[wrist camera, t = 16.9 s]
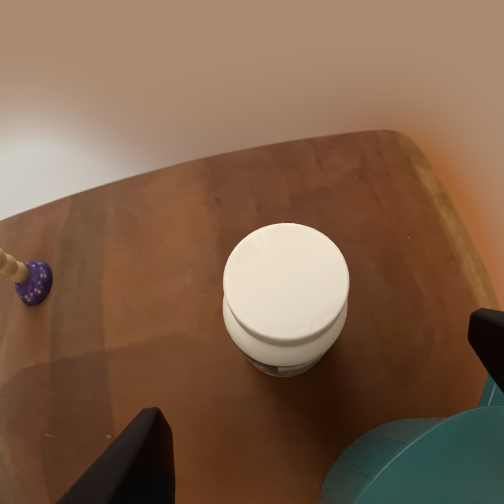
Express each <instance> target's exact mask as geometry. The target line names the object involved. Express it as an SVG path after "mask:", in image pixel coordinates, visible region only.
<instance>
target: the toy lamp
mask: <svg viewBox="0 0 504 504" xmlns="http://www.w3.org/2000/svg"><path fill="white" fill-rule="evenodd" d="M0 273H1V274H3V275H4V276H9V277H10V278H11V279H12V280H13V281H14V282H15V286H16V291H17V294H18V296H19V297H20V299H21V300H22V301H23V302H24V303H26V304H27V305H35V304H38V303H40V302H41V301H42V300H43V299H44V298H45V296H46V295H47V293H48V291H49V289H50V285H51V280H52V274H51V270H50V268H49V266H48V265H47V264H46V263H44V262H42V261H38V260H33V261H29V262H27V263H25V264H23V263H21V262H18V261H16V260H15V258H14V257H12V256H11V255H9V254H5V252H4V251H3V250H2V249H1V248H0Z"/></svg>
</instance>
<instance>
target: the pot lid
mask: <svg viewBox="0 0 504 504" xmlns="http://www.w3.org/2000/svg"><path fill="white" fill-rule="evenodd" d="M350 504H504V406H489V407H479V408H474V409H470V410H466V411H463V412H460V413H457V414H455V415H452V416H450V417H448V418H446V419H444V420H442V421H440V422H437V423H435V424H434V425H432V426H431V427H429V428H427V429H426V430H424V431H422V432H421V433H419V434H418V435H417V436H415V437H414V438H413V439H411V440H410V441H408V442H407V443H406V444H404V445H403V446H402V447H401V448H400V449H399V450H397V451H396V452H395V453H394V454H393V455H392V456H390V457H389V458H388V459H387V460H386V461H385V462H384V463H383V464H382V465H381V466H380V467H379V468H378V469H377V470H376V471H375V472H374V473H373V475H372V476H371V477H370V478H369V479H368V480H367V482H366V483H365V484H364V485H363V486H362V487H361V489H360V490H359V491H358V493H357V494H356V496H355V497H354V498H353V500H352V501H351V502H350Z"/></svg>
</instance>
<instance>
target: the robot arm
mask: <svg viewBox="0 0 504 504" xmlns="http://www.w3.org/2000/svg"><path fill="white" fill-rule="evenodd" d="M468 341H469V343H470V345H471V346H472V348H473V349H474V351H475V352H476V354H477V356H478V357H479V359H480V360H481V362H482V363H483V365H484V367H485V368H486V370H487V371H488V373H489V374H490V376H491V378H492V379H493V380H494V382H495V383H496V384H497V386H498V387H499V388H500V390H501V391H502V392H503V394H504V312H502V311H497V310H491V309H486V308H480V309H478V310H476V311H474V312H473V313H472V314H471V316H470V321H469V329H468ZM55 504H175V468H174V454H173V437H172V430H171V428H170V426H169V424H168V422H167V421H166V419H165V417H164V415H163V414H162V412H161V410H160V409H159V408H157V407H152V408H145V409H143V410H142V411H141V412H140V413H139V414H138V415H137V416H136V417H135V418H134V419H133V420H132V422H131V423H130V424H129V425H128V426H127V427H126V428H125V429H124V430H123V431H122V433H121V434H120V435H119V436H118V437H117V438H116V439H115V440H114V441H113V442H112V443H111V445H110V446H109V447H108V448H107V449H106V450H105V451H104V452H103V453H102V454H101V455H100V457H99V458H98V459H97V460H96V461H95V462H94V463H93V464H92V465H91V466H90V467H89V468H88V469H87V470H86V472H85V473H84V474H83V475H82V476H81V477H80V478H79V479H78V480H77V481H76V482H75V483H74V484H73V485H72V486H71V488H70V489H69V490H68V491H67V493H65V494H64V495H63V496H62V497H61V498H60V499H59V500H58V501H57V502H56V503H55Z"/></svg>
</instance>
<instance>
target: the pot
mask: <svg viewBox="0 0 504 504" xmlns="http://www.w3.org/2000/svg"><path fill="white" fill-rule="evenodd" d="M489 406H504V394H503V392H502V391H501V390H500V388H499V387H498V386H497V384H496V383H495V382H494V380H493V379H492V378H491V376H490V374H488V377H487V381H486V384H485V387H484V390H483V393H482V396H481V399H480V402H479V405H478V408H479V407H489ZM444 419H446V418H408V419H397V420H394V421H391V422H388V423H385V424H382V425H380V426H378V427H376V428H374V429H372V430H370V431H368V432H366V433H365V434H363V435H362V436H360V437H359V438H357V439H356V440H355V441H354V442H352V443H351V444H350V445H349V446H348V447H347V448H346V449H345V450H344V451H343V452H342V453H341V454H340V455H339V457H338V458H337V459H336V460H335V462H334V463H333V465H332V466H331V467H330V469H329V471H328V473H327V475H326V477H325V479H324V482H323V484H322V487H321V491H320V495H319V504H350V502H351V501H352V500H353V498H354V497H355V496H356V494H357V493H358V491H359V490H360V489H361V487H362V486H363V485H364V484H365V483H366V482H367V480H368V479H369V478H370V477H371V476H372V475H373V473H374V472H375V471H376V470H377V469H378V468H379V467H380V466H381V465H382V464H383V463H384V462H385V461H386V460H387V459H388V458H389V457H390V456H392V455H393V454H394V453H395V452H396V451H397V450H399V449H400V448H401V447H402V446H403V445H404V444H406V443H407V442H408V441H410V440H411V439H413V438H414V437H415V436H417V435H418V434H419V433H421V432H422V431H424V430H426V429H427V428H429V427H431V426H432V425H434V424H435V423H437V422H440V421H442V420H444Z"/></svg>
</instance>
